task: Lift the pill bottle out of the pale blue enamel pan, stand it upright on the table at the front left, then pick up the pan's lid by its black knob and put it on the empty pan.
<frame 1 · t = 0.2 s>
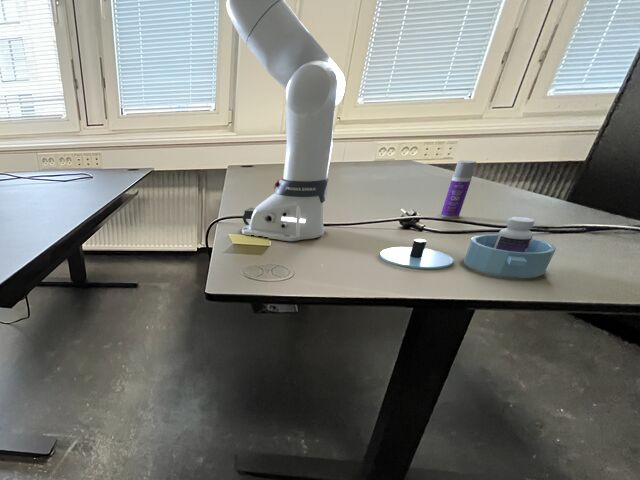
pan: (501, 268, 85), on the table
pan lid: (415, 258, 91), point 1 cm above the table
pill bottle: (501, 267, 85), resting on pan
container: (449, 217, 123), on the table
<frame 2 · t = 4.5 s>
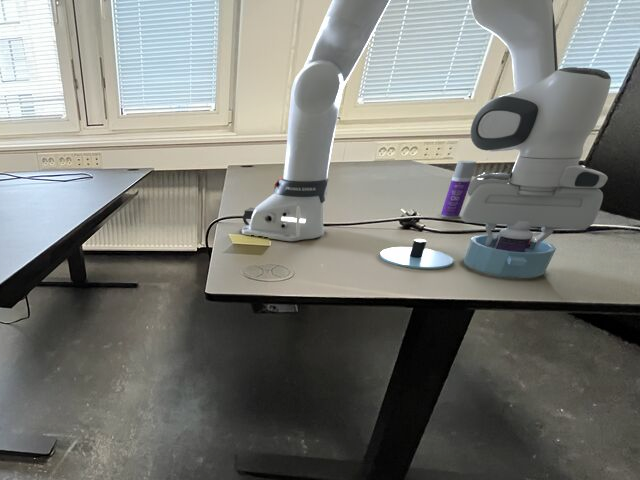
hand: (510, 247, 83), 4 cm above the table, tool pointing down, fingers closed on pill bottle, 5 cm apart
pill bottle: (501, 267, 85), resting on pan, touching gripper
everything else where it was.
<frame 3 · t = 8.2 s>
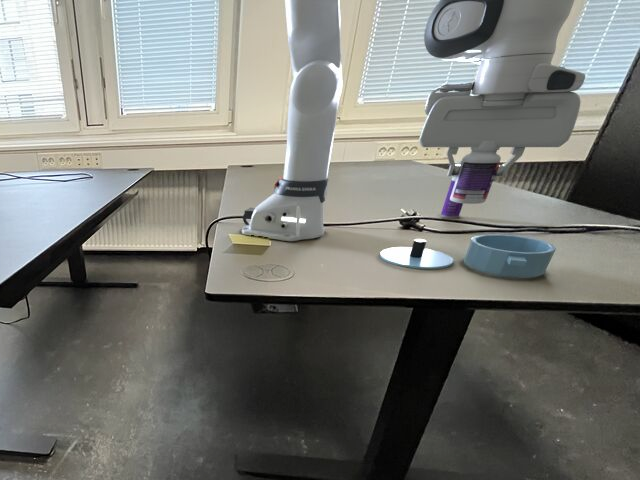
hand: (475, 176, 71), 19 cm above the table, tool pointing down, fingers closed on pill bottle, 5 cm apart
pill bottle: (466, 202, 73), point 15 cm above the table, touching gripper
everything else where it was.
when the fingers open (4 cm above the table, at t = 12.0 s): pill bottle stays where it is, on the table.
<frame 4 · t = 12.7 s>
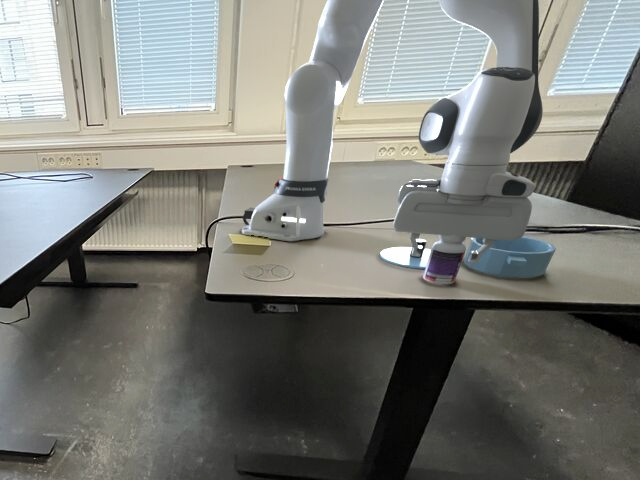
hand: (443, 258, 78), 5 cm above the table, tool pointing down, fingers open, 8 cm apart
pill bottle: (437, 282, 81), on the table
everything else where it was.
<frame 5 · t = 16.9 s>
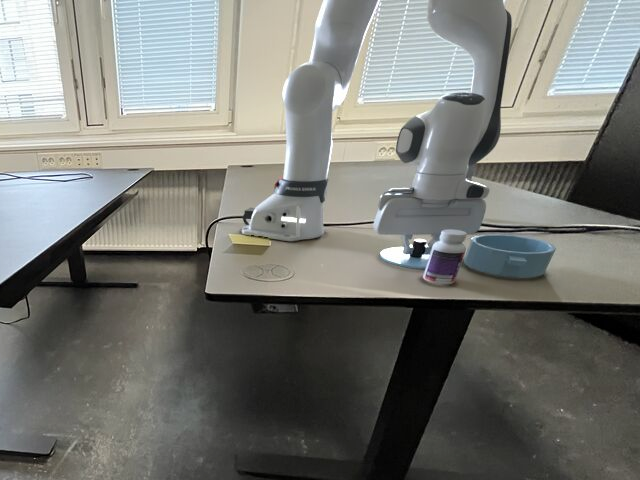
hand: (416, 254, 90), 2 cm above the table, tool pointing down, fingers closed on pan lid, 2 cm apart
pan lid: (415, 258, 91), point 1 cm above the table, touching gripper
everything else where it was.
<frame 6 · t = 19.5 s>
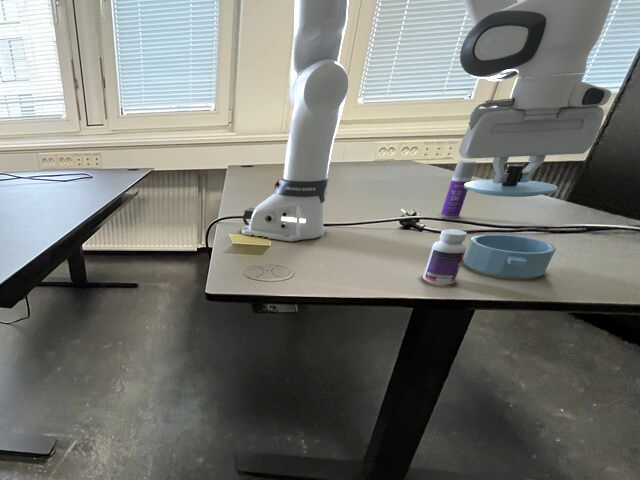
hand: (510, 182, 77), 17 cm above the table, tool pointing down, fingers closed on pan lid, 2 cm apart
pan lid: (507, 188, 78), point 16 cm above the table, touching gripper
everything else where it was.
when the fingers open (6 cm above the table, at t = 22.5 s): pan lid stays where it is, resting on pan.
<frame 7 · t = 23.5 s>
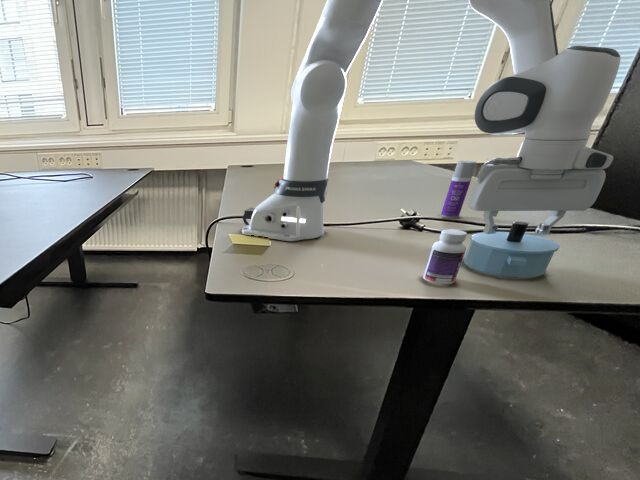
hand: (514, 233, 81), 7 cm above the table, tool pointing down, fingers open, 8 cm apart
pan lid: (512, 243, 82), point 5 cm above the table, touching pan
everything else where it was.
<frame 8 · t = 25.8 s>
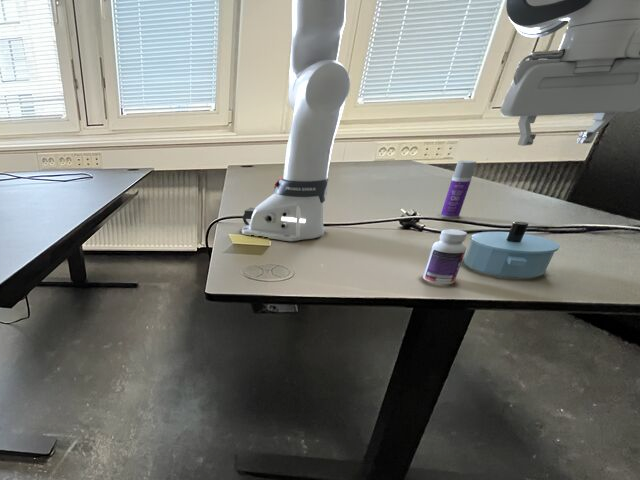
hand: (553, 144, 73), 23 cm above the table, tool pointing down, fingers open, 8 cm apart
nothing on the table moved.
at the end: pill bottle inside the target area (0.1 cm from its centre), on the table; pan lid 0.1 cm off-centre on the pan, point 5.3 cm above the pan's base; pan lid tilted 0° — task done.
